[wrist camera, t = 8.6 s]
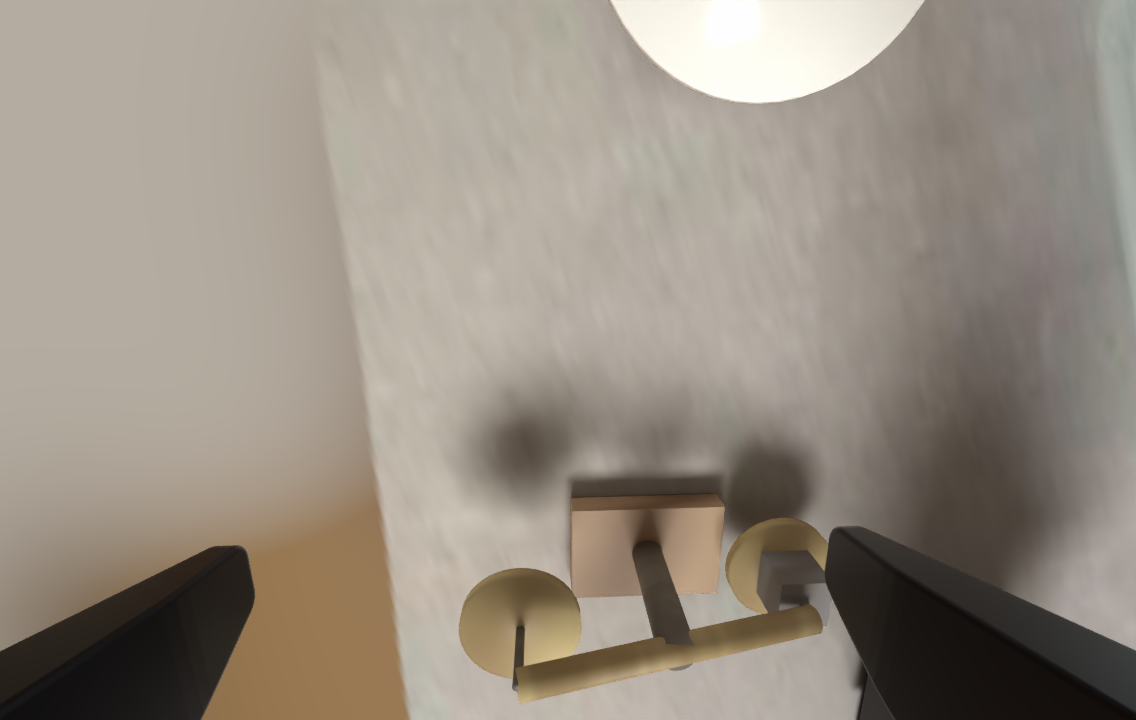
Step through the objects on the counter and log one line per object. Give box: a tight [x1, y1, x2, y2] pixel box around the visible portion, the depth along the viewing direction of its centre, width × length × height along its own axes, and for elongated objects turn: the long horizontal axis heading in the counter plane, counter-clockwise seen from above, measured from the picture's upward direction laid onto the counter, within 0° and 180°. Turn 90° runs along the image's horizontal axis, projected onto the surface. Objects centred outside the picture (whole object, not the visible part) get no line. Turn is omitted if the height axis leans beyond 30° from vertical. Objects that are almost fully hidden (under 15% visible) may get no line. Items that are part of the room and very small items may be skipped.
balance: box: [459, 494, 831, 704], centre depth 19 cm, size 14×4×7 cm, turn 90°
